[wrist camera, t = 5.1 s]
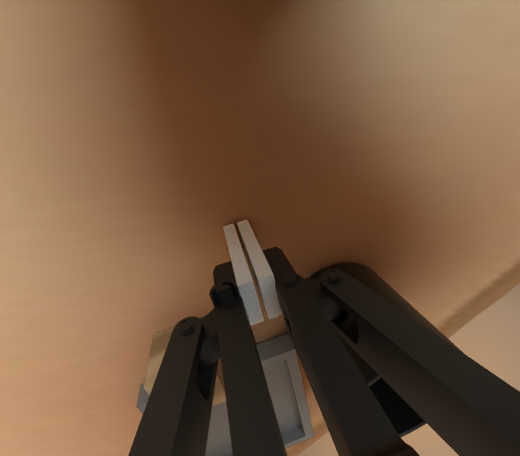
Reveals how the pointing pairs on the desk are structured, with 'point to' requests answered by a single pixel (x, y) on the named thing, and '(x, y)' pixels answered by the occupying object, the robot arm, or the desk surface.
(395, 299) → the mug
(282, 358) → the tray
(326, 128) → the desk surface
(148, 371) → the oak block
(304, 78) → the desk surface
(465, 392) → the robot arm
